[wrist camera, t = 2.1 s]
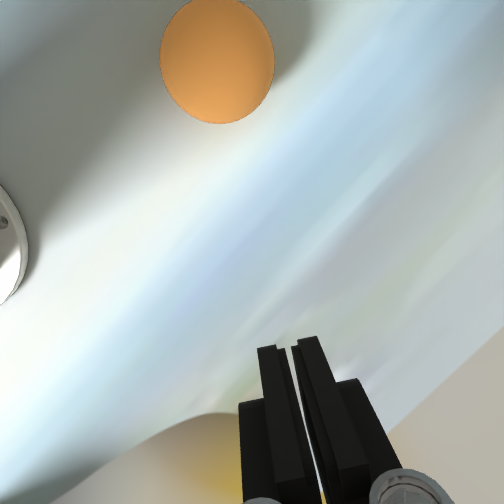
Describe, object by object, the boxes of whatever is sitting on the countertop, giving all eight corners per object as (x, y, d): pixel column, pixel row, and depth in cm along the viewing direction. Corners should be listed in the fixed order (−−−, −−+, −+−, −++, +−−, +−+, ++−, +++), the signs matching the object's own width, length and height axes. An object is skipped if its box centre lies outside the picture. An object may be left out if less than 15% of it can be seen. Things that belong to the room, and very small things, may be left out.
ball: (182, 130, 24) (171, 138, 18) (155, 23, 22) (132, -6, 16) (275, 110, 24) (292, 112, 18) (257, 1, 22) (269, -36, 16)
